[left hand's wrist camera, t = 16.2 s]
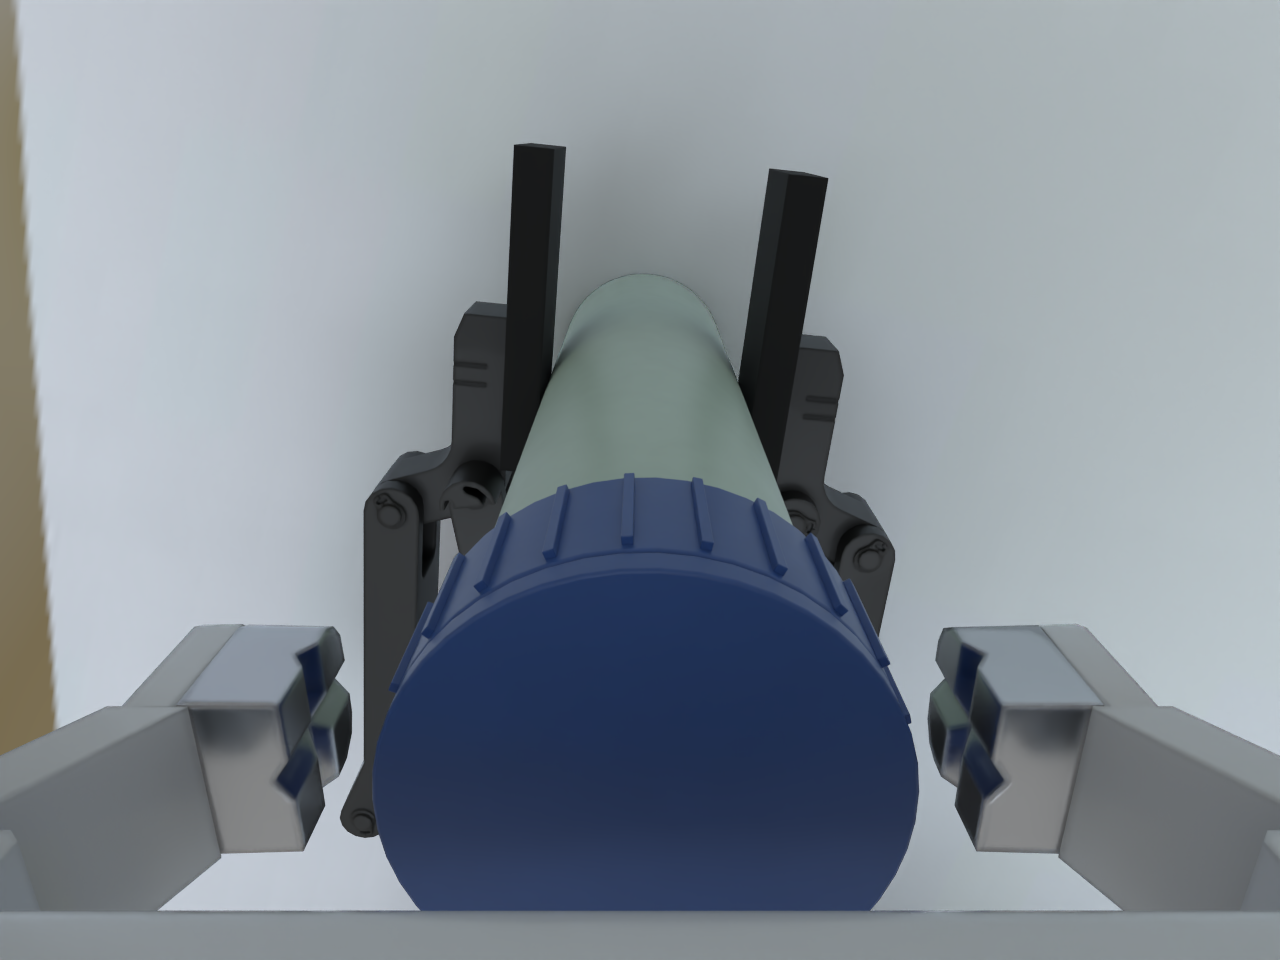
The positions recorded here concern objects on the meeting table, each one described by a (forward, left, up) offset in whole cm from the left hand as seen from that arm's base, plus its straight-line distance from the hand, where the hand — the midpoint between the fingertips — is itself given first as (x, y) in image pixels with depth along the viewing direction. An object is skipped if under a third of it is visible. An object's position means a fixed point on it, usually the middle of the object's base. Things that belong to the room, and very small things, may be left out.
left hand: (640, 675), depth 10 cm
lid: (0, 0, +2) cm, 2 cm away
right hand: (-5, -1, -10) cm, 12 cm away
